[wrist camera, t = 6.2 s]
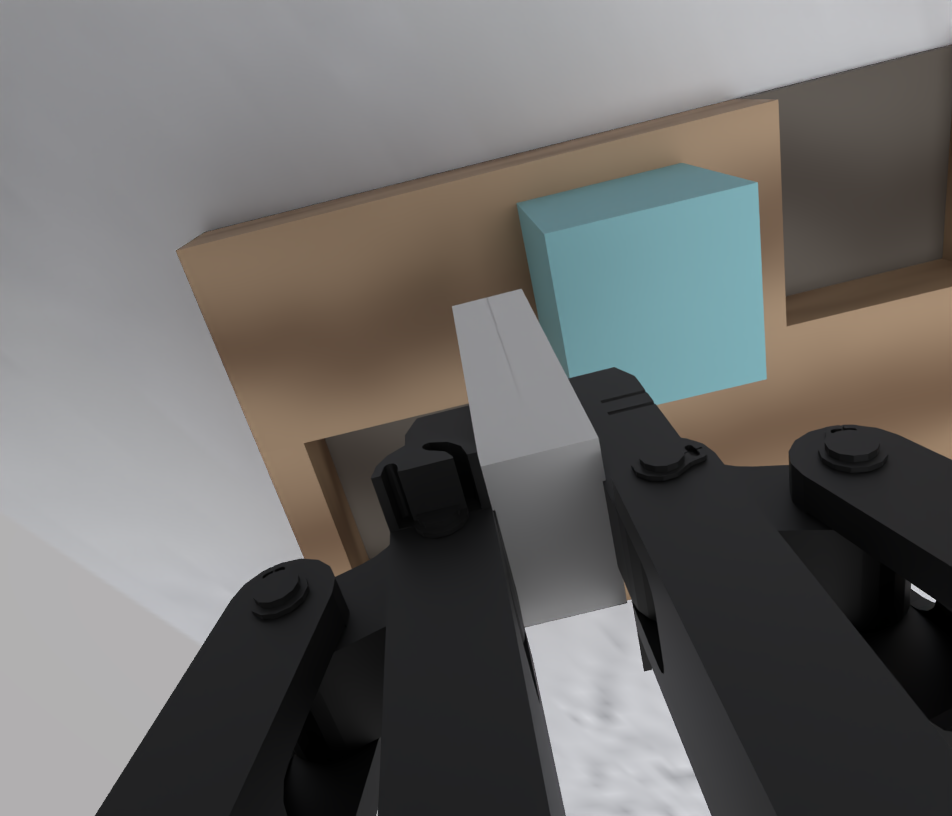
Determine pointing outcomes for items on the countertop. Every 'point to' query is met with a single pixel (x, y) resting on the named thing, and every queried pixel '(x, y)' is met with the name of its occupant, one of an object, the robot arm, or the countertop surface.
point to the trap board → (506, 269)
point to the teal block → (652, 279)
